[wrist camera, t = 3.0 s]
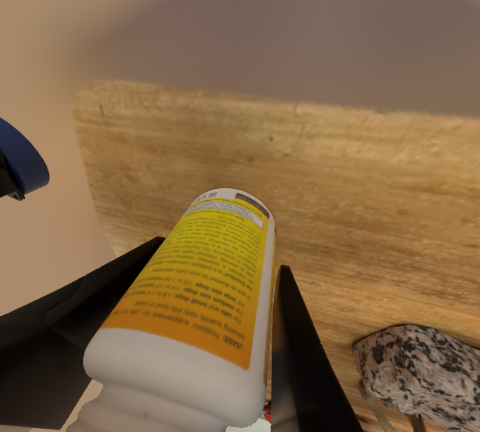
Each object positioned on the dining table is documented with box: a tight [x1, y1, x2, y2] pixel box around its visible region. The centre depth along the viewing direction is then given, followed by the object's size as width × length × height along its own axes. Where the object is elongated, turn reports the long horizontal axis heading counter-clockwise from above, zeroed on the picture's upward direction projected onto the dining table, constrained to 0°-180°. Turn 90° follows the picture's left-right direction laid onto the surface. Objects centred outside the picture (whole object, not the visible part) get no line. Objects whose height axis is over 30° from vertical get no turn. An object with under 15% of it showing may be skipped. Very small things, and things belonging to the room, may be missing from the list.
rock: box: [352, 324, 480, 432], centre depth 14 cm, size 13×9×4 cm
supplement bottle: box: [66, 188, 276, 432], centre depth 8 cm, size 6×6×10 cm
